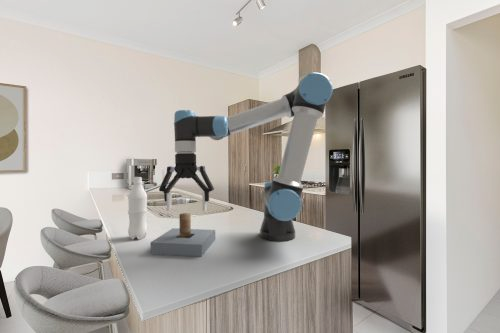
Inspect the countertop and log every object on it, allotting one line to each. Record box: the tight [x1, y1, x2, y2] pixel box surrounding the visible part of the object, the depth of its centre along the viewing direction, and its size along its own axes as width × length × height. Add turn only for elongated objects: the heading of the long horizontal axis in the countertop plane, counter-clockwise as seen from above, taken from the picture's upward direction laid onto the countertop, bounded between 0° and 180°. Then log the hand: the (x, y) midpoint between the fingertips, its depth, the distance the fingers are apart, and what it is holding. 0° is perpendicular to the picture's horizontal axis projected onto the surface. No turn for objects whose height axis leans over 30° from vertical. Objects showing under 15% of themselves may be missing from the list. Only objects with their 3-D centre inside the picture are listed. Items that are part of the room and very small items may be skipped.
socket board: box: [150, 227, 216, 258], centre depth 94 cm, size 18×18×4 cm
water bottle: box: [127, 176, 148, 241], centre depth 103 cm, size 7×7×25 cm
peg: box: [179, 212, 192, 238], centre depth 94 cm, size 4×4×12 cm
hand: (187, 210), depth 94 cm, fingers open, 13 cm apart
